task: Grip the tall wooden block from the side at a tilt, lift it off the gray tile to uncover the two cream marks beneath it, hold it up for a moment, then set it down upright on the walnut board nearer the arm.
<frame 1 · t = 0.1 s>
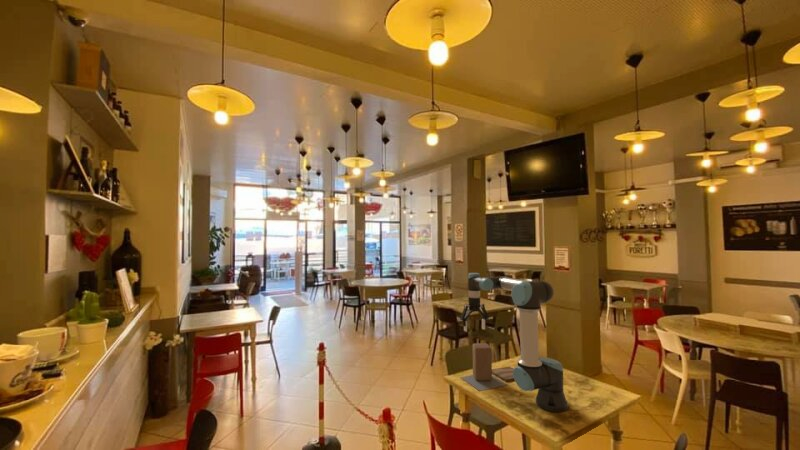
hand: (474, 330, 217), 28 cm above the table, tool pointing down, fingers open, 13 cm apart
wooden block: (482, 378, 209), resting on gray tile
gray tile: (483, 381, 205), on the table
walnut board: (507, 374, 214), on the table
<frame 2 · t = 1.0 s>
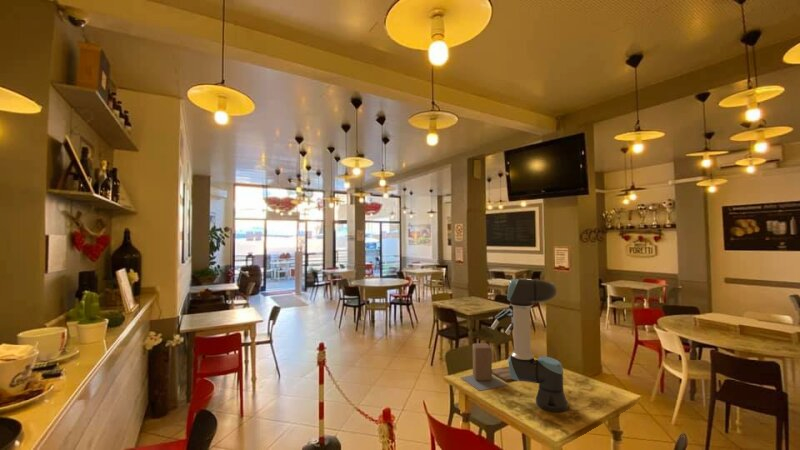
hand: (499, 331, 215), 28 cm above the table, tool tilted 45°, fingers open, 13 cm apart
nothing on the table moved.
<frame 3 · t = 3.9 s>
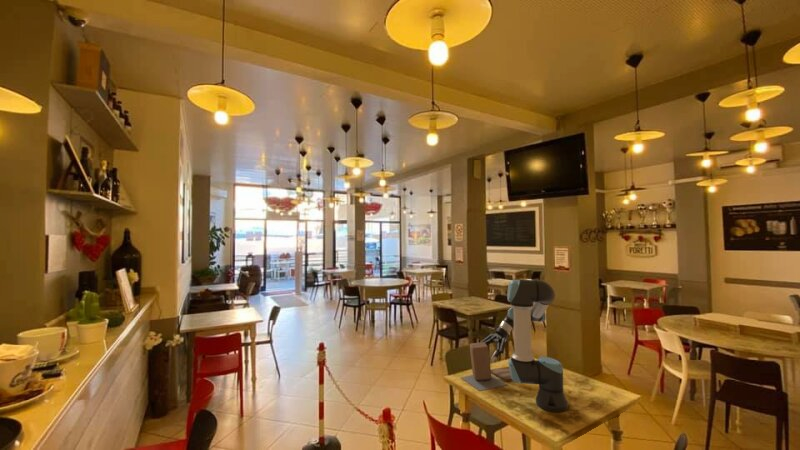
hand: (484, 357, 211), 12 cm above the table, tool tilted 45°, fingers open, 13 cm apart
wooden block: (482, 377, 209), resting on gray tile, touching gripper
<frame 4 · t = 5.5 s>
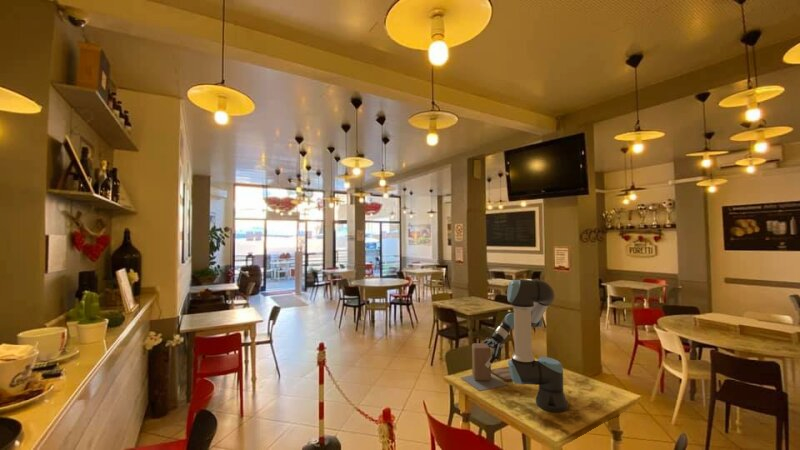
hand: (479, 362, 209), 10 cm above the table, tool tilted 45°, fingers closed on wooden block, 12 cm apart
wooden block: (481, 378, 209), resting on gray tile, touching gripper
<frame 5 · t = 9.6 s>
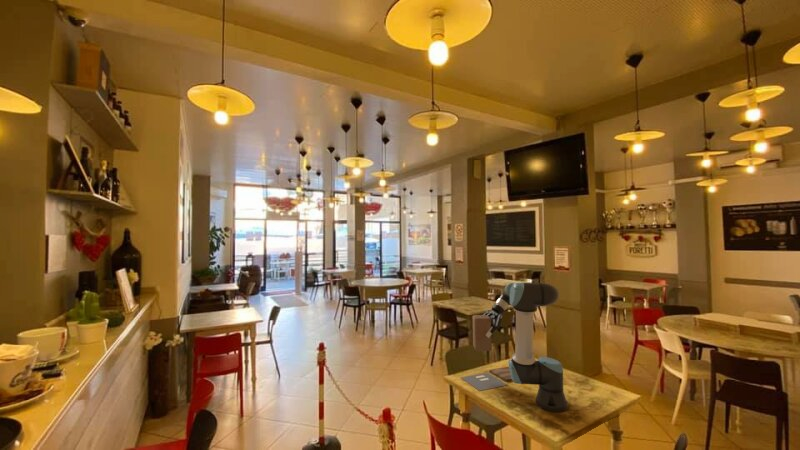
hand: (480, 333, 210), 27 cm above the table, tool tilted 45°, fingers closed on wooden block, 12 cm apart
wooden block: (482, 349, 210), point 18 cm above the table, touching gripper
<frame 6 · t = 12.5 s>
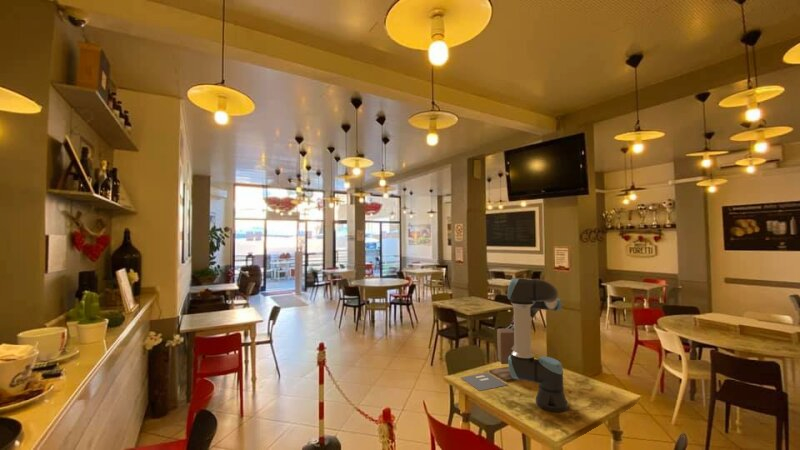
hand: (505, 347, 215), 17 cm above the table, tool tilted 45°, fingers closed on wooden block, 12 cm apart
wooden block: (507, 362, 215), point 8 cm above the table, touching gripper
when the fingers open (13 cm above the table, at t = 14.2 s): wooden block drops 2 cm, resting on walnut board.
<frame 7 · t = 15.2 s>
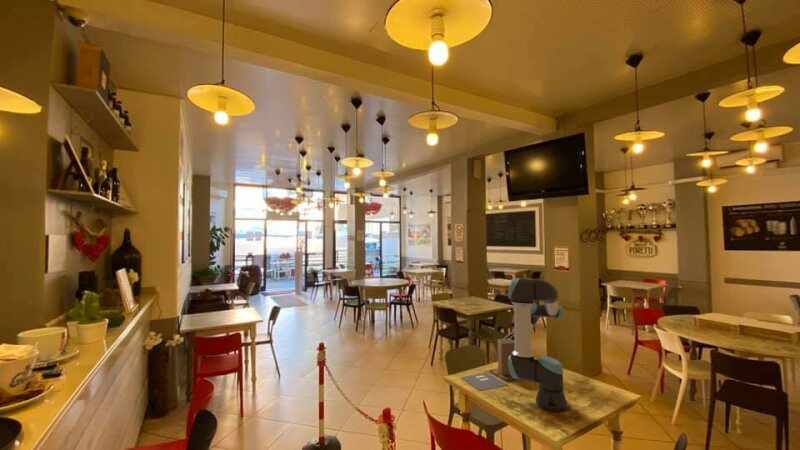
hand: (507, 354, 214), 13 cm above the table, tool tilted 45°, fingers open, 13 cm apart
wooden block: (507, 373, 214), point 1 cm above the table, touching gripper, walnut board
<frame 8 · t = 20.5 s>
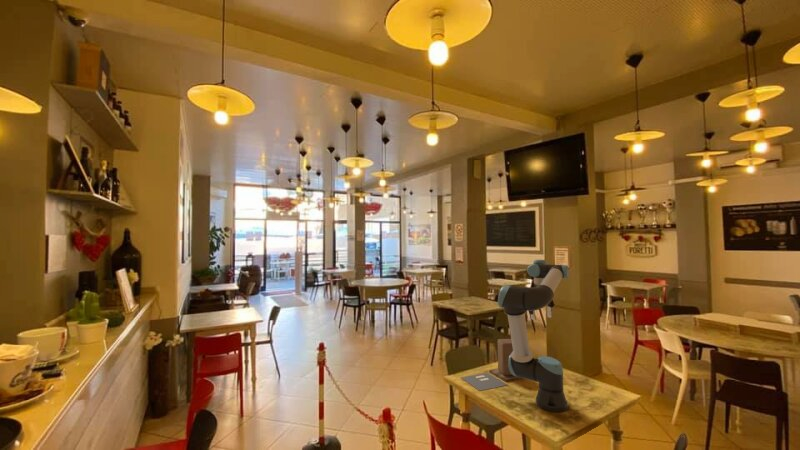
hand: (541, 318, 211), 37 cm above the table, tool pointing down, fingers open, 13 cm apart
wooden block: (507, 372, 214), point 1 cm above the table, touching walnut board
at the end: wooden block inside the target area on the walnut board (0.2 cm from its centre), point 1.3 cm above the walnut board's base; wooden block tilted 0°; the gripper is holding nothing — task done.
